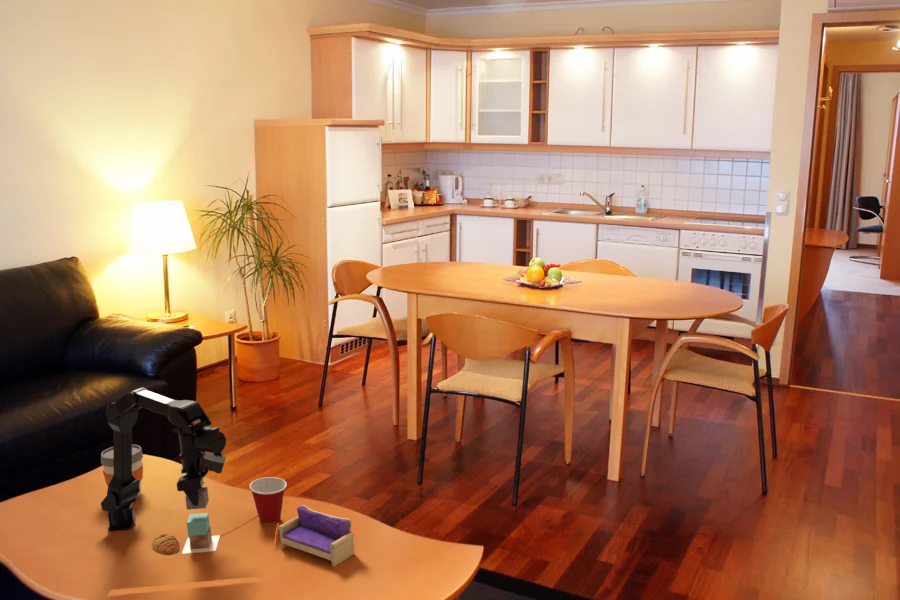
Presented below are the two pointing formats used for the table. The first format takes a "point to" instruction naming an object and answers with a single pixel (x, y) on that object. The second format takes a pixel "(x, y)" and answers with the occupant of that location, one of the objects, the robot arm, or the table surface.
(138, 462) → the reusable coffee cup
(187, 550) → the base plate
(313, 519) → the toy sofa
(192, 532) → the teal brick
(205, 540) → the walnut brick
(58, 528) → the table surface
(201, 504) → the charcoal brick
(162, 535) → the pastry
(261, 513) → the plastic cup
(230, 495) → the table surface
